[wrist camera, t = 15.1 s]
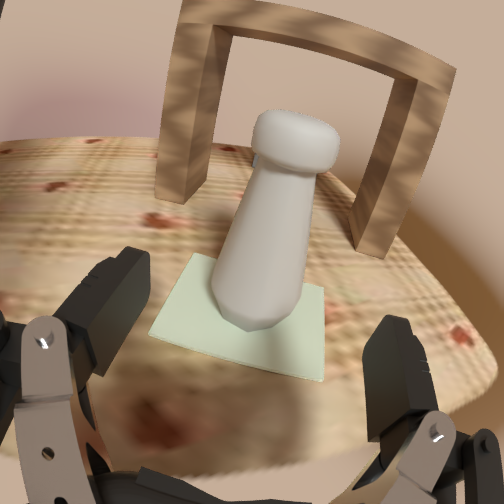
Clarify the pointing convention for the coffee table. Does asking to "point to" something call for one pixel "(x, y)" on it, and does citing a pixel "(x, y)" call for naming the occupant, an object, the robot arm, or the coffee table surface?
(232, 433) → the coffee table surface
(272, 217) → the salt shaker
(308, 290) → the mat
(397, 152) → the tunnel gate
